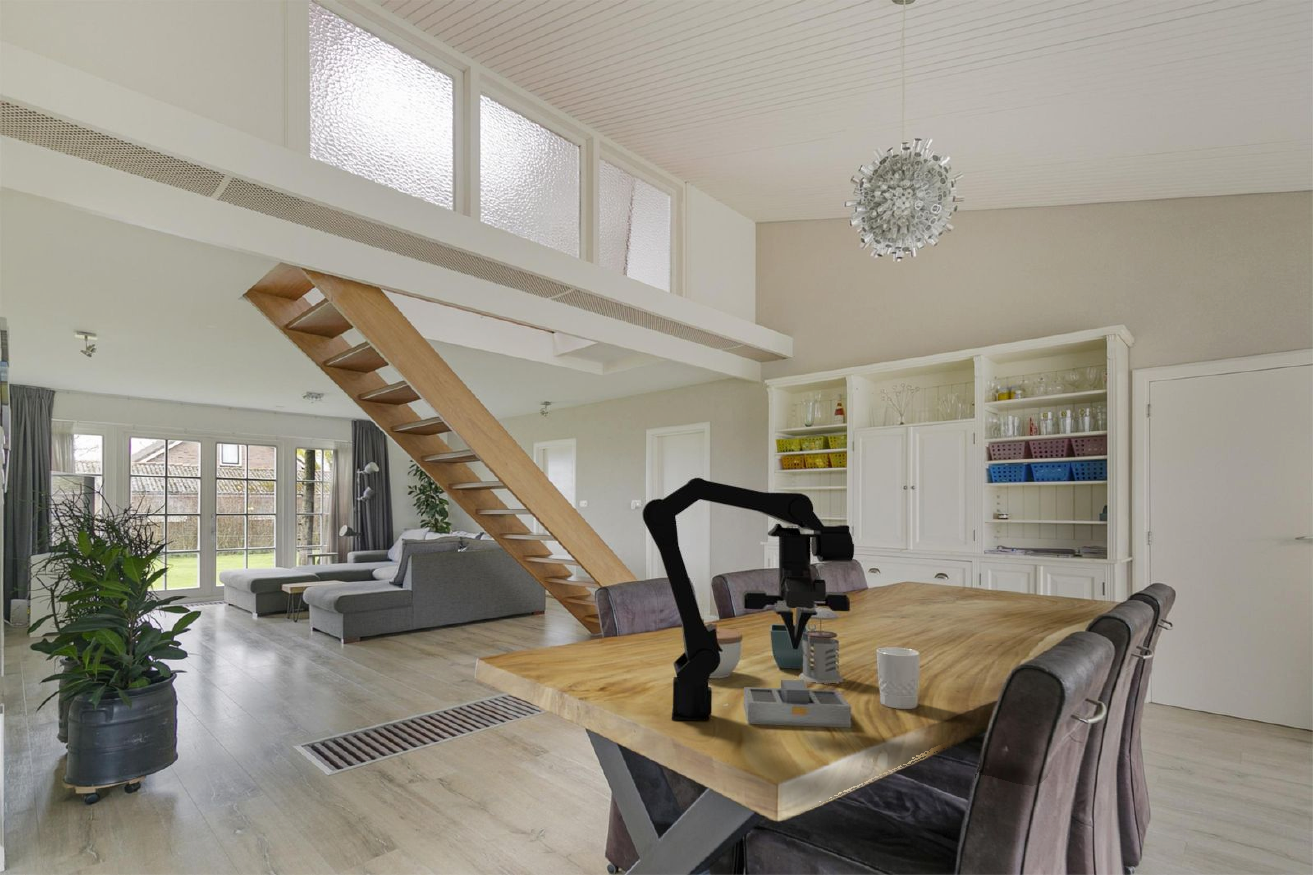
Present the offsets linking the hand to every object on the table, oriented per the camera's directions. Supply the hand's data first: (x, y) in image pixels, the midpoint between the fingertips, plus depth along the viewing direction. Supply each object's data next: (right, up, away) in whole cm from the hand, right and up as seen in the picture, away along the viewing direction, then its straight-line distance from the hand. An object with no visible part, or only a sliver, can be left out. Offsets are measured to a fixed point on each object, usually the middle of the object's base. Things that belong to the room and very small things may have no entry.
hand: (795, 649), depth 125 cm
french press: (+11, -15, +26) cm, 32 cm away
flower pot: (+6, -16, +37) cm, 41 cm away
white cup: (+22, -13, +8) cm, 26 cm away
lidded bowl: (-12, -15, +29) cm, 34 cm away
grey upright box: (0, -11, -1) cm, 11 cm away
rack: (0, -12, -1) cm, 12 cm away
